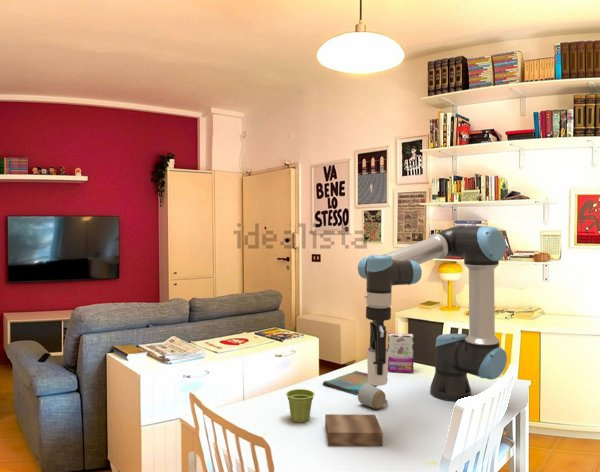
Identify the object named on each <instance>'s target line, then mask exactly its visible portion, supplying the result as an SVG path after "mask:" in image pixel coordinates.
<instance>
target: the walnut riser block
mask: <svg viewBox="0 0 600 472" xmlns="http://www.w3.org/2000/svg"><path fill="white" fill-rule="evenodd" d="M324 415H325V417H324V418H325V419H324V420H325V421H324V422H325V423H324V426H325V428H324V429H325V433H326V440H327V446H328V447H383V440H384V439H383V438H384V436H383V435H384V433H383V430H382V428H381V425H380V423H379V420H378V418H377V416H376V414H345V413H344V414H341V413H340V414H337V413H336V414H330V413H329V414H326V413H325V414H324Z"/></svg>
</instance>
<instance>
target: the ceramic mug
mask: <svg viewBox="0 0 600 472" xmlns="http://www.w3.org/2000/svg"><path fill="white" fill-rule="evenodd" d="M386 398H387V397H386V393H385V392H384V390H382V389H380V388H379V387H377V386H375V387H374V386H372V385H370V384H364V385H362V386H361V388H360V389H359V392H358V395H357V399H358V402H359V403H360V404H362V405H364V406H367V407H369V408H371V409H375V410H380V409H381V408H382V407H383V406H384V405H387V404H388V400H387V399H386Z"/></svg>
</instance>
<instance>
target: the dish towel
mask: <svg viewBox="0 0 600 472" xmlns="http://www.w3.org/2000/svg"><path fill="white" fill-rule="evenodd" d="M364 384H369V383H368V372H362V371H358V370H354V371H352V372H350V373H346V374H343V375H340V376H338V377H335V378H332V379H330V380H324V381H323V382H322V386H323V387H326V388H330V389H334V390H336V391H340V392H344V393H347V394H350V395H354V396H358V392H359V389H360V388H361V386H362V385H364ZM370 385H372V384H370ZM372 386H374V387H378V385H372Z"/></svg>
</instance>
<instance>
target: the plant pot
mask: <svg viewBox="0 0 600 472" xmlns="http://www.w3.org/2000/svg"><path fill="white" fill-rule="evenodd" d="M285 396H286V397H287V400H288V404H289V413H290V419H291V421H292V422H294V423H295V422H298V423H306V422H308V421H309V420H310V419H311V409H312V404H313V403H312V402H313V399H314V397H315V392H314V391H312V390H309V389H305V388H297V389H296V388H294V389H290V390H289V391H287V392H286V393H285Z"/></svg>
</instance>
